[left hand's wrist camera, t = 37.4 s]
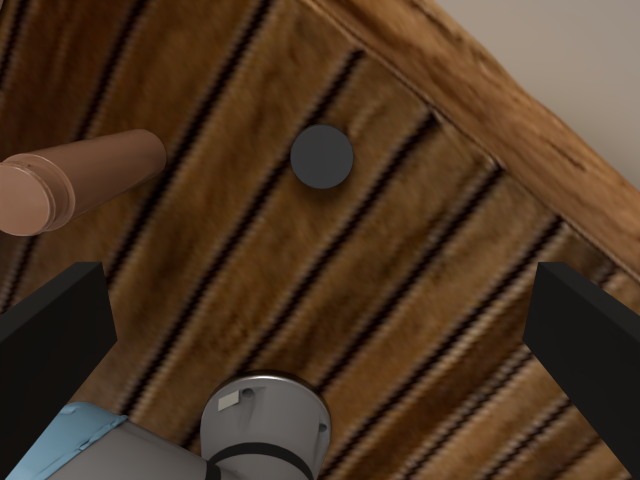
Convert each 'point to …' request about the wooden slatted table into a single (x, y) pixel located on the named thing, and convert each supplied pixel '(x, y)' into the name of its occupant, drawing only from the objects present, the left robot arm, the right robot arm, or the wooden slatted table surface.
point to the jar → (74, 179)
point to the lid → (321, 156)
